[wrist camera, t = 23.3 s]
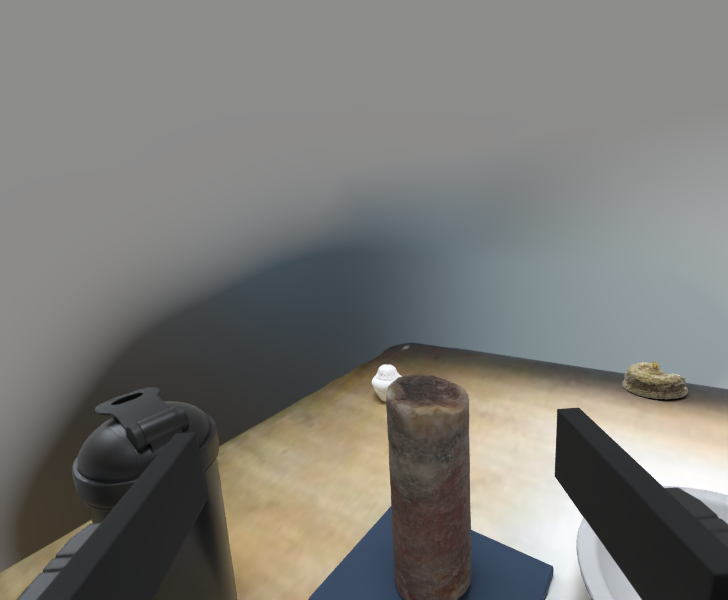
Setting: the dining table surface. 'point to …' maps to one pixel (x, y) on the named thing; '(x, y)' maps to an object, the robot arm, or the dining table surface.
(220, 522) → the water bottle
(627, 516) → the robot arm
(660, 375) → the cake
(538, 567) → the mat
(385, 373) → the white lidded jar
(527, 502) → the dining table surface
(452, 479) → the candle
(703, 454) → the dining table surface
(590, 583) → the soup bowl
